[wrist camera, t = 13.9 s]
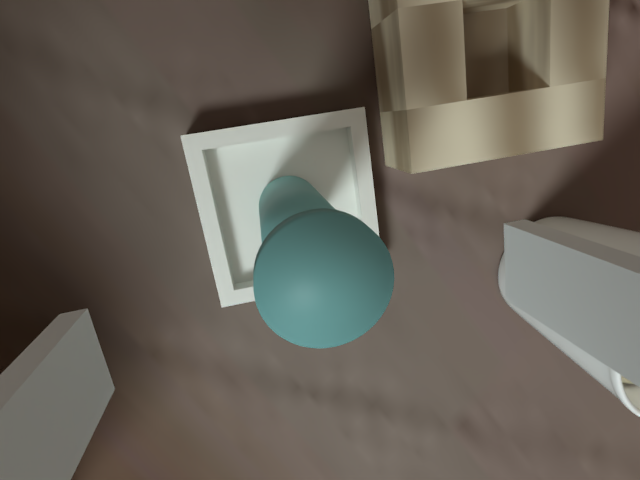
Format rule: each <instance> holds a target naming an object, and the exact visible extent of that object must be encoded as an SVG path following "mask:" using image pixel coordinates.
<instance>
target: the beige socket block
mask: <svg viewBox="0 0 640 480" xmlns="http://www.w3.org/2000/svg"><path fill="white" fill-rule="evenodd" d="M368 4H369V14H370V24H371V33H372V43H373V52H374V62H375V72H376V81H377V91H378V100H379V110H380V120H381V129H382V139H383V148H384V158H385V166H389V167H392V168H395V169H398V170H401V171H405V172H408V173H411V174H414V173H419V172H425V171H431V170H436V169H442V168H448V167H453V166H459V165H464V164H470V163H476V162H481V161H487V160H493V159H498V158H504V157H510V156H515V155H521V154H526V153H532V152H538V151H543V150H549V149H555V148H560V147H566V146H572V145H577V144H583V143H588V142H594V141H600V140H603V130H604V107H605V85H606V63H607V41H608V19H609V0H368Z"/></svg>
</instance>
